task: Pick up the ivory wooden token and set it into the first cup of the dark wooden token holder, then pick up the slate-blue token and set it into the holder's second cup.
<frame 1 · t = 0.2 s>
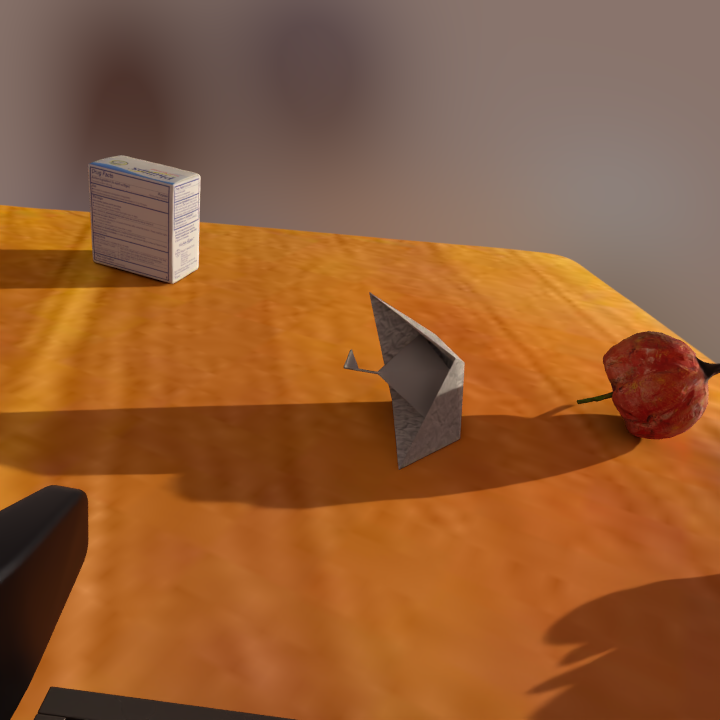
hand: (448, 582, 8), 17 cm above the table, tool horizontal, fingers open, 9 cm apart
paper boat: (394, 414, 42), on the table
medicine box: (146, 269, 56), on the table
pomegranate: (629, 427, 45), on the table
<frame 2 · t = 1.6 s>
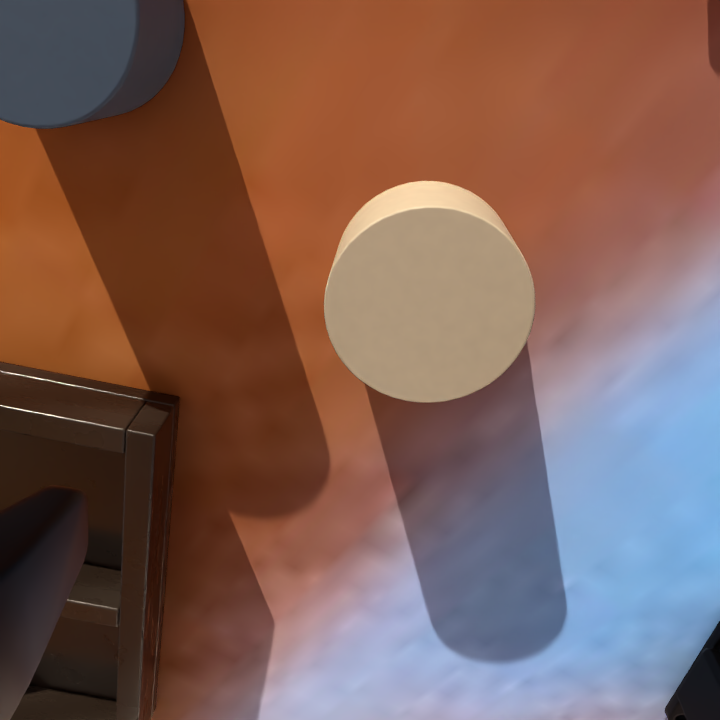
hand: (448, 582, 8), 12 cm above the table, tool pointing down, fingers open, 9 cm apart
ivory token: (424, 271, 19), on the table
token holder: (57, 553, 24), on the table
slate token: (83, 6, 16), on the table
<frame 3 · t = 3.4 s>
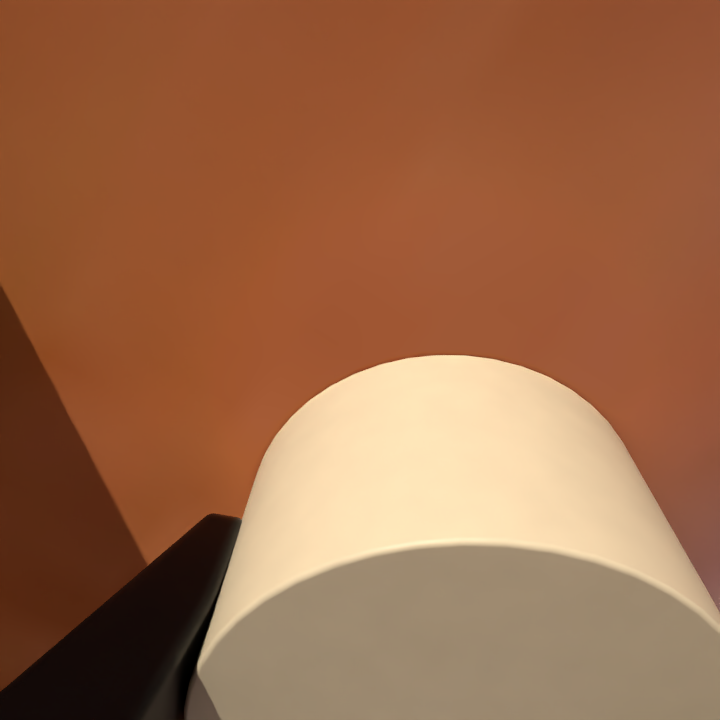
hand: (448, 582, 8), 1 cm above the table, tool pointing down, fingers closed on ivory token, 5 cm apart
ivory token: (441, 524, 9), on the table, touching gripper
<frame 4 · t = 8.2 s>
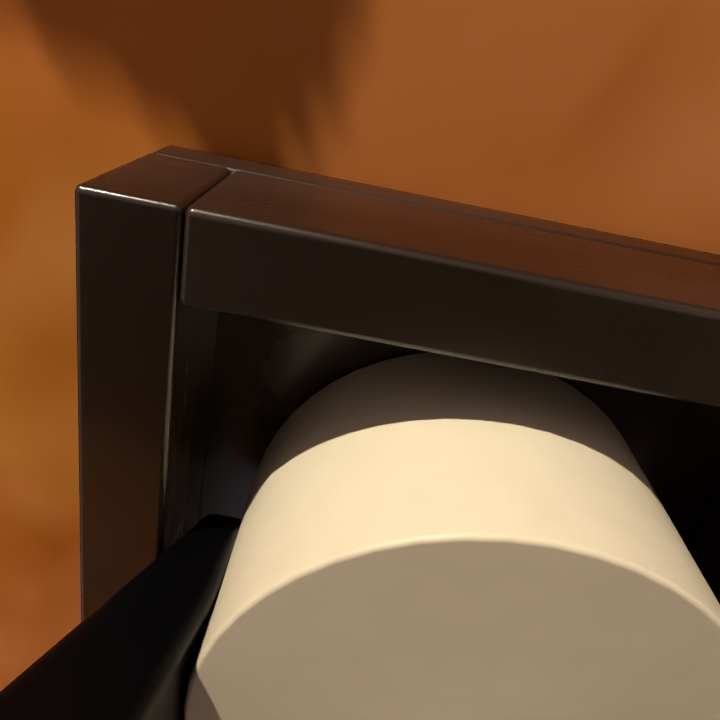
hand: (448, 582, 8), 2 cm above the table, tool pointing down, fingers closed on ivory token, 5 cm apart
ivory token: (442, 522, 9), point 1 cm above the table, touching gripper
token holder: (386, 667, 11), on the table
when the fingers open (3 cm above the table, at t = 16.5 s): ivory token drops 1 cm, resting on token holder.
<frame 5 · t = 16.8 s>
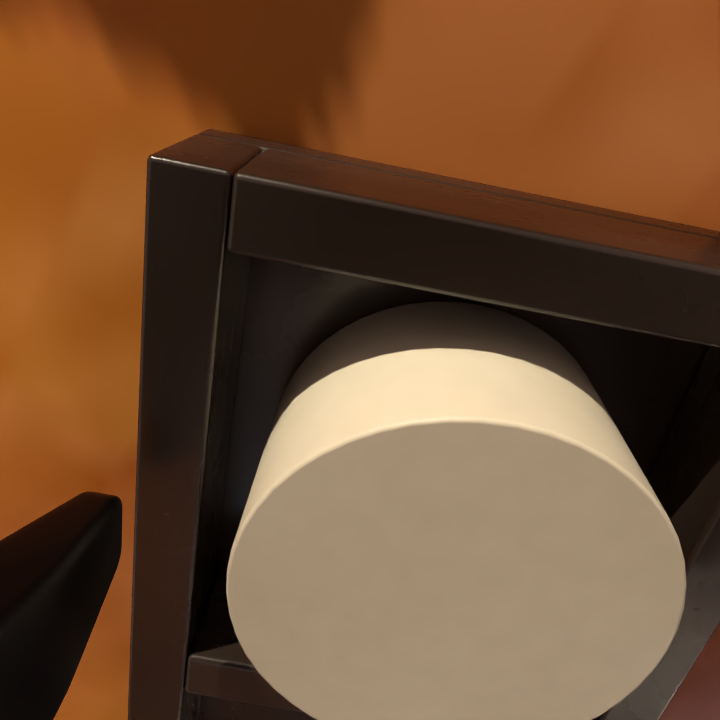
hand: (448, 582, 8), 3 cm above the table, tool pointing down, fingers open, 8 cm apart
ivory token: (435, 453, 10), point 1 cm above the table, touching token holder
token holder: (389, 595, 12), on the table
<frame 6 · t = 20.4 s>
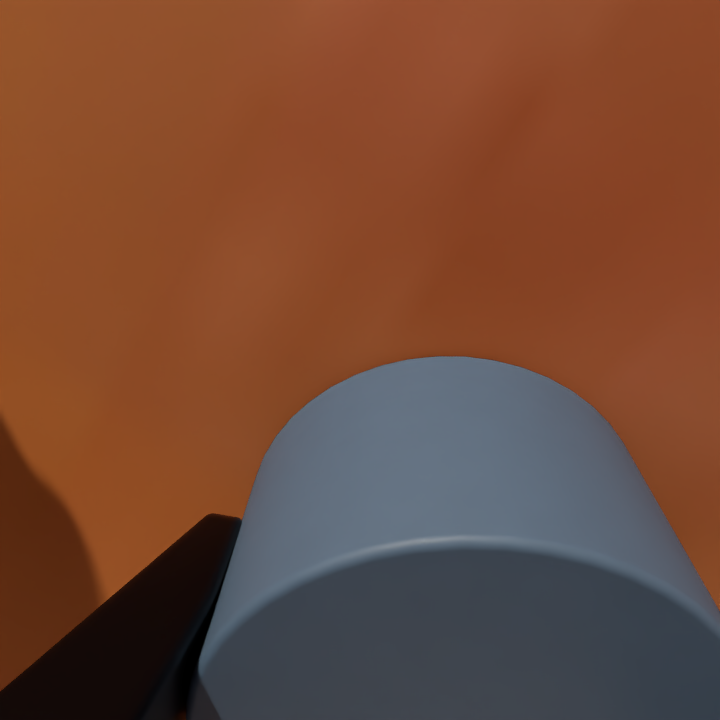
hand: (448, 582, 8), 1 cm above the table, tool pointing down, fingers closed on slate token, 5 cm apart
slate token: (441, 524, 9), on the table, touching gripper
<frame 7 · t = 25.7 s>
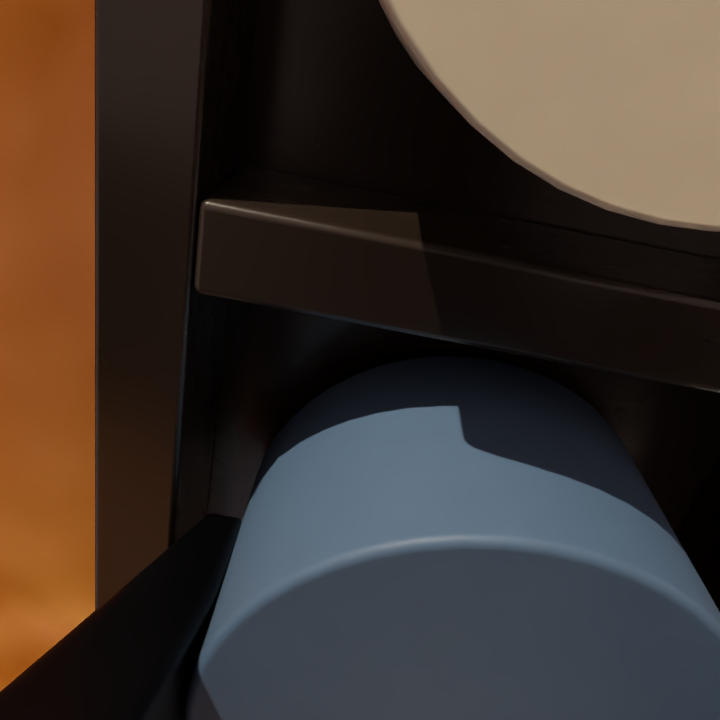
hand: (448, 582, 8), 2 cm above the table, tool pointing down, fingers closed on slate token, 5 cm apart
token holder: (512, 244, 8), on the table
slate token: (441, 524, 9), point 1 cm above the table, touching gripper
when the fingers open (3 cm above the table, at t = 33.9 s): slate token drops 2 cm, resting on token holder.
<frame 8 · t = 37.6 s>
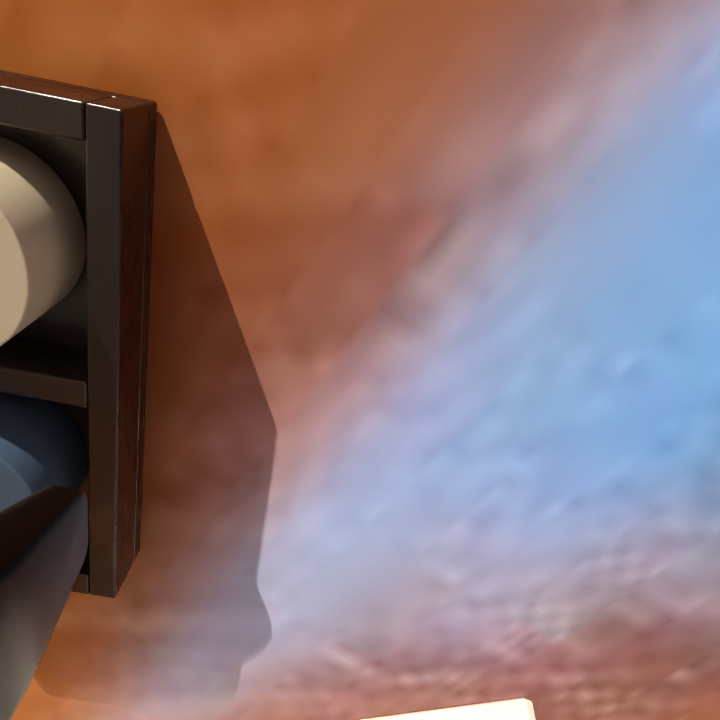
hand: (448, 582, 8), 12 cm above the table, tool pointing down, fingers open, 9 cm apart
token holder: (16, 339, 20), on the table
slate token: (11, 446, 21), point 1 cm above the table, touching token holder
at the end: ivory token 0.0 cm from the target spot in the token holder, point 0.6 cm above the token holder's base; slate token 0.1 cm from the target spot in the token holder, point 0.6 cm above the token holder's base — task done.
